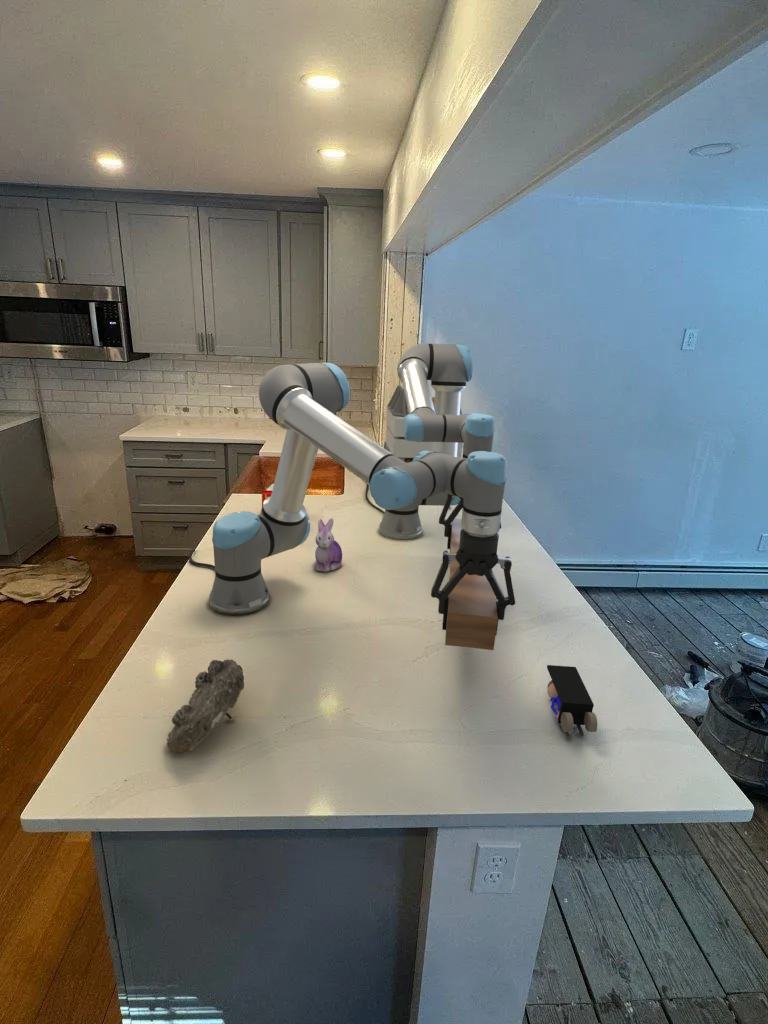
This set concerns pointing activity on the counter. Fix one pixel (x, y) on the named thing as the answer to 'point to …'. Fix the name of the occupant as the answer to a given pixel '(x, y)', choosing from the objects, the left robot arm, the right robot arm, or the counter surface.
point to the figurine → (327, 548)
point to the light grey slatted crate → (396, 434)
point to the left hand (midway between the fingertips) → (469, 629)
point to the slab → (470, 606)
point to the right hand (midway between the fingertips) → (467, 549)
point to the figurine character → (570, 699)
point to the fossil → (206, 705)
